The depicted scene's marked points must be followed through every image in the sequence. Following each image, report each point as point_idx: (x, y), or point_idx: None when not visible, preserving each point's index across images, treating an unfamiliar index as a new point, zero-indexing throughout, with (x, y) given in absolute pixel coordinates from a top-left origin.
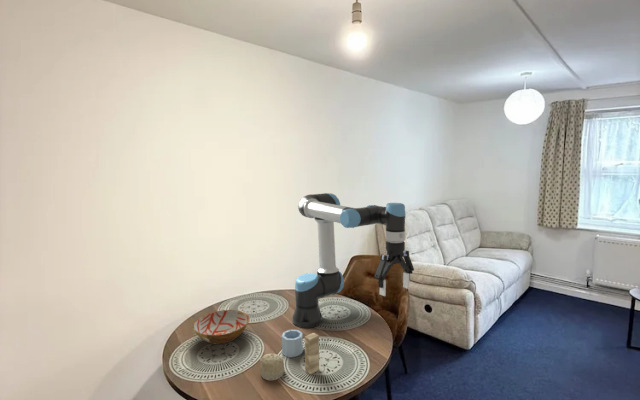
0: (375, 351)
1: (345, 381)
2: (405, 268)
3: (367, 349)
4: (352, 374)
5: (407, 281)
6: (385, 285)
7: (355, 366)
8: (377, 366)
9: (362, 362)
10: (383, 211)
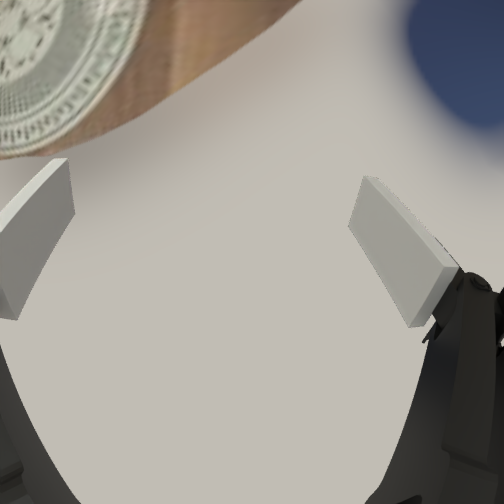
0: (168, 52)
1: (11, 129)
2: (425, 376)
3: (156, 28)
4: (36, 113)
5: (376, 261)
6: (37, 274)
7: (61, 85)
8: (112, 118)
9: (90, 79)
10: None
